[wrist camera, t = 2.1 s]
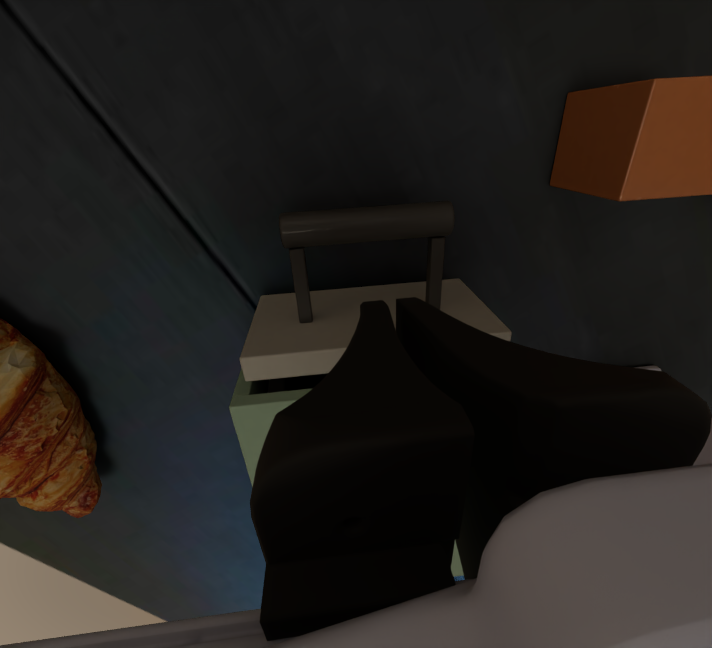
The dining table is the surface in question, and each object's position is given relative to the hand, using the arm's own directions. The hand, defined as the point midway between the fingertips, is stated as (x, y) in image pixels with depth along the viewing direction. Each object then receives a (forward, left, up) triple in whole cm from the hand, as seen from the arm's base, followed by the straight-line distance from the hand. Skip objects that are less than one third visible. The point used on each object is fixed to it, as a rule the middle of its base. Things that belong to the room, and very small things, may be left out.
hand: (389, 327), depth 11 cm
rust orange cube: (-13, -5, -9) cm, 16 cm away
